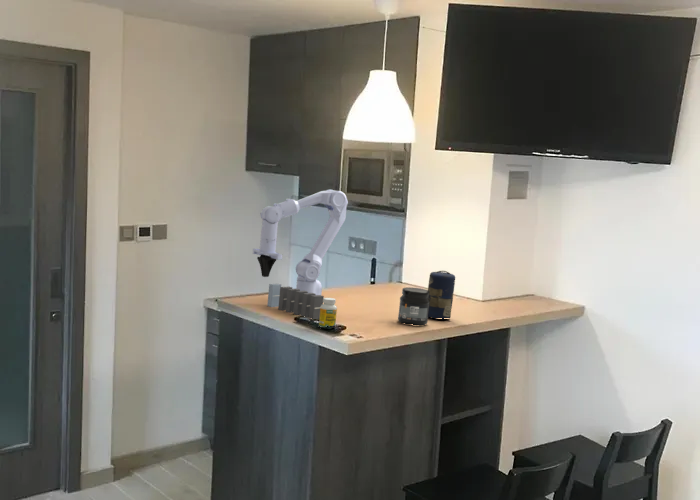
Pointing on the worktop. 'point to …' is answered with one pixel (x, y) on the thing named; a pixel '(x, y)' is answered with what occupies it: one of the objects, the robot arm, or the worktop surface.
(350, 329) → the worktop surface
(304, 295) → the domino
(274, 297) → the domino
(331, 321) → the supplement bottle
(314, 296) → the domino
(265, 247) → the robot arm
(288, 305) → the domino
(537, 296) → the worktop surface
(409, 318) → the supplement container
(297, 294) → the domino
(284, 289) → the domino
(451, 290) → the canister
